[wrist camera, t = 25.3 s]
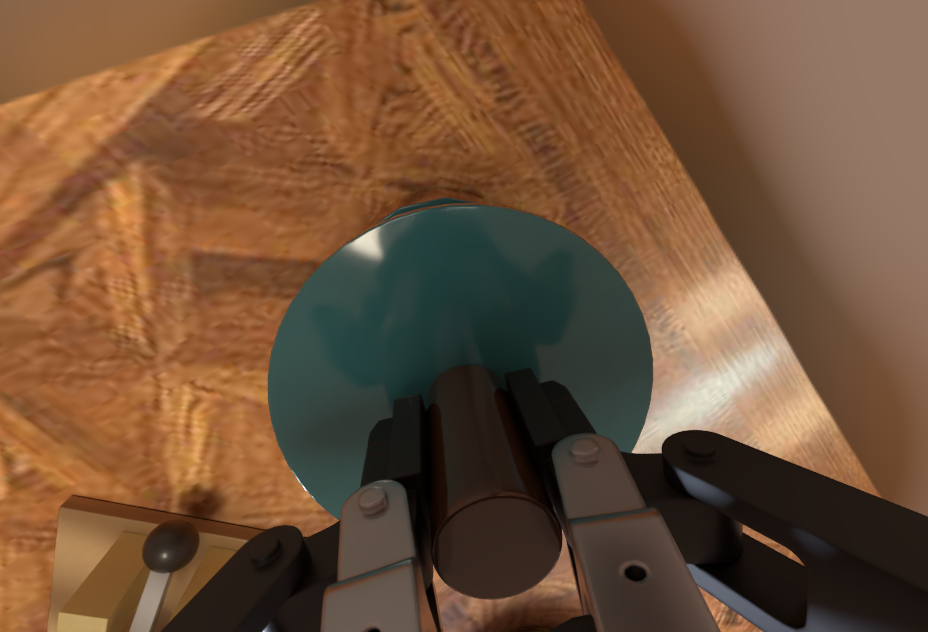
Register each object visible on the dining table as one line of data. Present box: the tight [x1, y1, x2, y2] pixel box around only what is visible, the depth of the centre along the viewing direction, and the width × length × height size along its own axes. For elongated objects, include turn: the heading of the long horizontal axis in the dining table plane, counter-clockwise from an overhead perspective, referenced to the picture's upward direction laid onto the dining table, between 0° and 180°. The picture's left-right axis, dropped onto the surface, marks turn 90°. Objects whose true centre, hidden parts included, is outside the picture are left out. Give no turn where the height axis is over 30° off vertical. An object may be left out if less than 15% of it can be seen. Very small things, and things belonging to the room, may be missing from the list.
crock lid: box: [268, 203, 653, 599], centre depth 12 cm, size 11×11×7 cm
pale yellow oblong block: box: [167, 546, 237, 624], centre depth 30 cm, size 3×4×6 cm
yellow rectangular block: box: [57, 531, 151, 632], centre depth 29 cm, size 3×2×6 cm
